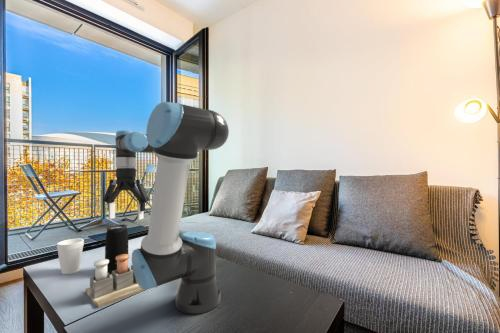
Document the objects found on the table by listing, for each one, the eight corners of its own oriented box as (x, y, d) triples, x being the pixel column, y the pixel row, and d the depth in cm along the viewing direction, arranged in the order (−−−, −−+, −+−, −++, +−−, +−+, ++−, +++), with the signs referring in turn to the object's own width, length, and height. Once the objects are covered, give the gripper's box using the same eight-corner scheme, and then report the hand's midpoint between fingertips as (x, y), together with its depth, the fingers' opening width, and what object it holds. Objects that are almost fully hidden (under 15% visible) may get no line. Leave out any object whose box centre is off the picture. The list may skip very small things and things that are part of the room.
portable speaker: (123, 274, 101) (123, 228, 101) (100, 274, 101) (100, 229, 101) (131, 265, 110) (131, 223, 110) (110, 266, 109) (110, 224, 109)
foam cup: (57, 278, 97) (57, 246, 97) (56, 270, 104) (56, 241, 104) (84, 271, 104) (85, 241, 104) (82, 264, 111) (82, 237, 111)
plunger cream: (110, 280, 84) (111, 261, 84) (95, 285, 81) (96, 265, 81) (106, 276, 87) (106, 258, 87) (91, 280, 84) (92, 261, 84)
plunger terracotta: (131, 274, 89) (131, 256, 89) (118, 278, 86) (118, 259, 86) (126, 270, 92) (126, 253, 92) (113, 274, 89) (113, 256, 89)
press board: (157, 285, 92) (157, 268, 92) (98, 308, 77) (98, 287, 77) (140, 273, 102) (140, 258, 102) (85, 292, 87) (85, 273, 87)
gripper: (158, 167, 100) (158, 217, 99) (107, 168, 105) (107, 216, 104) (147, 167, 93) (147, 221, 92) (93, 168, 97) (92, 219, 97)
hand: (126, 218), depth 98 cm, fingers open, 13 cm apart
